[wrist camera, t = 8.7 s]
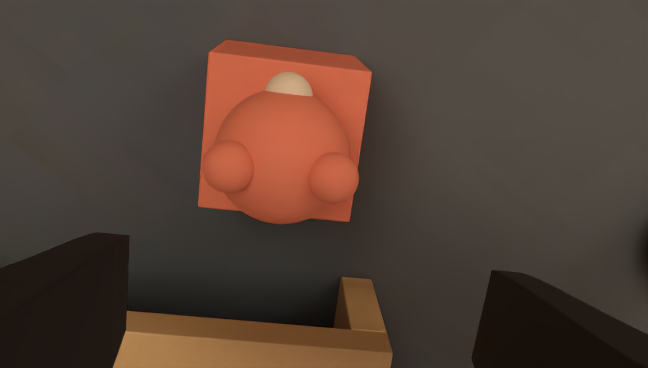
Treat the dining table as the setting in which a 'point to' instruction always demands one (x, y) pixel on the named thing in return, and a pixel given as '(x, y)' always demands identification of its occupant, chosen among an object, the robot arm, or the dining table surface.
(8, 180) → the dining table surface
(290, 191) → the orange box
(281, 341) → the shelf
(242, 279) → the dining table surface
